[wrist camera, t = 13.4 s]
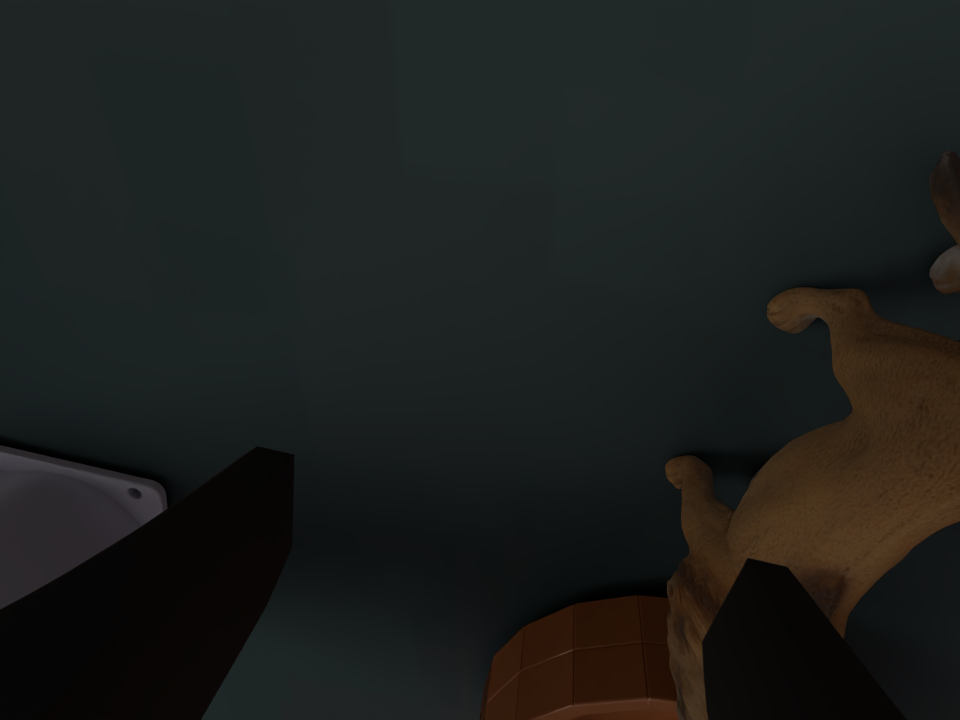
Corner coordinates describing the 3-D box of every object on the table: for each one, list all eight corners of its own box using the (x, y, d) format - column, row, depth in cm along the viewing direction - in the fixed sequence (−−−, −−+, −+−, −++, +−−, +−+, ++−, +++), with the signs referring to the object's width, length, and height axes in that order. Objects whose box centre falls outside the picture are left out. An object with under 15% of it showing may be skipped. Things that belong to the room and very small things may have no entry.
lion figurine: (765, 586, 22) (865, 901, 14) (618, 547, 22) (638, 839, 14) (1042, 172, 15) (1559, 358, 7) (820, 116, 15) (1084, 237, 7)
